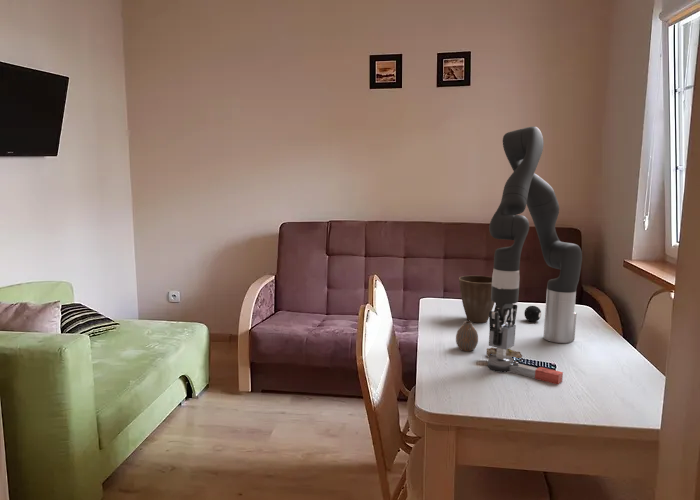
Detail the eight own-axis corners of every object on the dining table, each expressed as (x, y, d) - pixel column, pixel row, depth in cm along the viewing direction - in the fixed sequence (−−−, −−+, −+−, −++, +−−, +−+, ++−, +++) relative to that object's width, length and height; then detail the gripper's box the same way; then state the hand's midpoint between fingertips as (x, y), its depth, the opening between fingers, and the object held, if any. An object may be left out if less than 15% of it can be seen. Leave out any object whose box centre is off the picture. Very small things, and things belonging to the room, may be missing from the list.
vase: (477, 353, 178) (479, 326, 177) (455, 351, 180) (456, 324, 178) (477, 346, 185) (478, 320, 184) (455, 345, 186) (456, 318, 185)
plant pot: (450, 321, 215) (453, 279, 212) (465, 313, 227) (467, 273, 225) (489, 328, 207) (492, 284, 205) (502, 319, 220) (504, 278, 217)
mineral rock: (485, 353, 172) (487, 339, 179) (484, 365, 174) (486, 351, 180) (522, 359, 169) (523, 344, 176) (521, 371, 170) (522, 356, 177)
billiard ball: (528, 318, 222) (529, 303, 221) (543, 321, 218) (544, 306, 217) (521, 321, 218) (522, 305, 217) (536, 324, 214) (537, 308, 213)
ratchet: (494, 362, 170) (495, 342, 170) (564, 379, 158) (566, 357, 157) (483, 368, 165) (485, 347, 164) (555, 386, 152) (557, 364, 151)
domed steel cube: (496, 341, 168) (498, 318, 167) (514, 345, 165) (516, 321, 164) (488, 345, 164) (490, 321, 163) (506, 349, 161) (508, 325, 160)
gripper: (503, 279, 170) (500, 335, 172) (481, 286, 159) (478, 345, 161) (528, 283, 165) (524, 340, 168) (507, 290, 154) (503, 351, 157)
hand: (501, 342), depth 165 cm, fingers closed on domed steel cube, 5 cm apart
